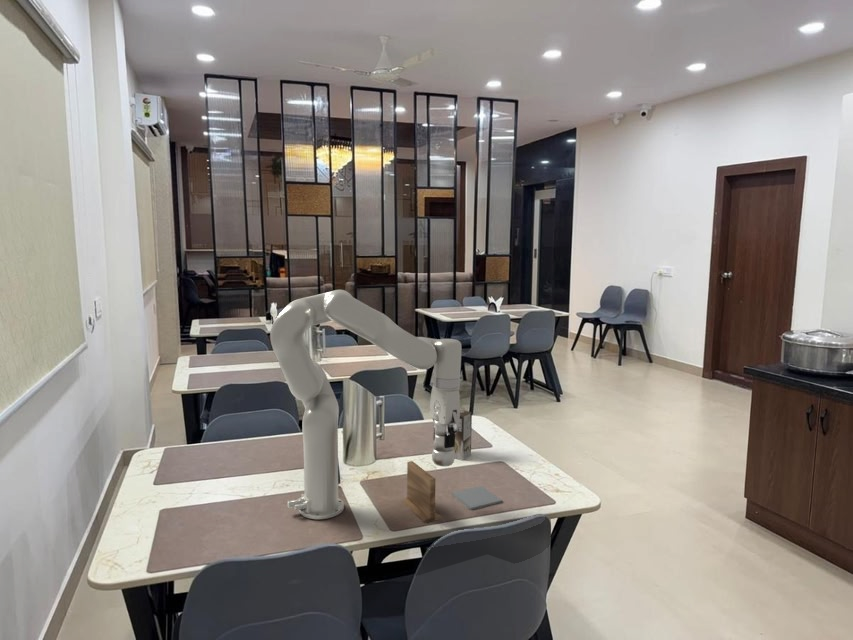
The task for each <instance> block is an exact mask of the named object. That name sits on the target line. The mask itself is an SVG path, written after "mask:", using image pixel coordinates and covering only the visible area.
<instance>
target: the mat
mask: <svg viewBox="0 0 853 640" xmlns="http://www.w3.org/2000/svg"><path fill="white" fill-rule="evenodd" d="M450 495H451V496H452V495H453V498H455V499H456V498H457V499H456V500H457V501H459V502H460V501H461V502H462V505H464V506H465V505H466V506H465V507H466V508H467V509H468V510H470V511H473V510H476V508H477V509H480V508H485V507H488V506H492V505H496V504H500V503H503V499H502V498H500V497H498V496H497V495H495V494H494V493H492V492H491V491H490V490H488V489H487V488H486V487H484V486H483V485H479V486H478V485H477V486H474V487H470V488H465V489H461V490H457V491H454V492H451V493H450ZM461 502H460V503H461ZM472 509H473V510H472Z"/></svg>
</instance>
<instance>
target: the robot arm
mask: <svg viewBox="0 0 853 640" xmlns="http://www.w3.org/2000/svg"><path fill="white" fill-rule="evenodd" d="M328 322H333V323H335V324H337V325H338V326H340V327H342V328H344V329H346V330H347V331H350V332H351V333H353V334H355V335H357V336H359V337H361V338H362V339H365V340H366V341H368V342H370V343H371V344H372V345H374V346H376V347H378V348H379V349H381V350H383V351H385V352H386V353H388V354H389V355H392V356H393V357H394V358H396V359H398V360H400V361H402V362H404V363H405V364H408V365H409V366H411V367H412V368H415V369H418V370H423V371H424V370H429V369H430V368H432V367H433V384H432V388H431V392H430V400H429V413H428V414H429V417H430V418H431V419H432V421H433V424H432V426H433V441H434V440H435V426H434V416H433V415H434V413H435V412H437V414H438V416H439V423H441V424H442V425H445V428H446V434H445V438H444V447H445V448H451V447H454V446H455V434H456V432H457V431H458V429H459V428H460V427H461V426H460V423H459V419H460V410H461V399H460V398H461V395H460V390H461V389H460V386H461V385H460V383H461V367H462V350H463V349H462V343H461V341H459V340H458V339H456V338H455V339H454V338H440V339H439V338H438V339H437V338H431V337H424V336H415V335H413V334H412V333H410V332H408V331H407V330H404V329H403V328H402V327H400V326H399V325H397V324H396V323H395V322H394V321H393V320H392V319H391V318H390V317H389V316H387V315H386V314H385V313H383V312H381V311H379V310H377V309H375V308H373V307H371V306H369V305H367V304H366V303H364V302H362V301H360V300H359V299H357V298H355V297H353V295H352V294H351V293H350V292H348V291H346V290H344V289H335V290H332V291H331V290H330V291H327V292H323V293H319V294H314V295H311V296H310V295H309V296H305V297H302V298H298V299H295V300H293V301H291V302H289V303H288V304H287V305H286V306H285V307H284V308H283V309H282V310H281V311H280V312H279V314H278V315H277V316H276V318H275V319H274V321H273V323H272V325H271V328H270V335H269V338H270V343H271V344H270V345H271V347H272V351H273V353H274V355H275V357H276V359H277V362H278V365H279V366H280V369H281V371H282V375H283V376H284V379H285V381H286V383H287V386H288V388H289V389H288V390H289V391H290V393H291V394H292V396H293V397H294V398H295V399H297V400H298V401H301V402H302V404H303V406H304V413H303V416H302V423H301V424H302V426H301V427H302V428H301V430H302V440H303V442H302V443H303V475H304V476H303V481H304V482H303V483H304V485H303V487H304V493H301V494H300V495H301V497H298V499H291V500H288V501H287V503H286V504H287V508H288V509H291V508H294V511H298V512H299V513H300V515H301V516H303V517H304V518H307V519H311V520H326V519H332V518H334V517H336V516H338V515H340V514H341V513H343V511H344V508H345V503H344V501H343V500H342V499H341V498H339V413H340V411H339V409H340V405H339V402H338V399H337V398H336V397H337V396H336V395H335V392H334V390H333V389H332V386H331V383H330V380H329V379H328V376H327V374H326V372H325V370H324V369H323V366H321V365H320V364H319V363H318V362H317V361H314V360H313V359H312V357H311V355H310V351H309V349H308V347H307V345H306V343H305V341H304V334H305V333H306V332H307V331H308V330H309V329H310V328H311V327H313V326H316V325H322V324H326V323H328ZM451 420H453V423H450V421H451ZM450 425H452V427H451V428H450V429H449V426H450Z"/></svg>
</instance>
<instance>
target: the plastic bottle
mask: <svg viewBox="0 0 853 640" xmlns="http://www.w3.org/2000/svg"><path fill="white" fill-rule="evenodd" d="M433 416H434V422H433V423H434V426H435V427H434V426H433V427H434V428H435V440H433V441H434V442H433V449H432V453H431V458H432V462H433V463H434V464H435V465H436V466H439V467H450V466H452V465H453V464H454V463H455V459H456V458H455V451H454V447H451V448H445V447H444V438H445V434H446V428H445V425H442V424H441V423H439V416H438V414H437V412H435V413H434V415H433ZM450 423H453V420H451V421H450ZM451 427H452V425H450V426H449V429H450V428H451Z"/></svg>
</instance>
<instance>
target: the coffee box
mask: <svg viewBox="0 0 853 640" xmlns="http://www.w3.org/2000/svg"><path fill="white" fill-rule="evenodd" d="M472 416H473V412H472V411H468V410H462V409H460V419H459V423H460V426H461V427H460V428H459V429H458V431H457V432H456V434H455V446H454V451H455V459H457V460H461V461H465V460H466V459H467V458H469V457H471V456H472V426H473V425H472V424H473V423H472V420H473V419H472V418H473V417H472Z"/></svg>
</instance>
